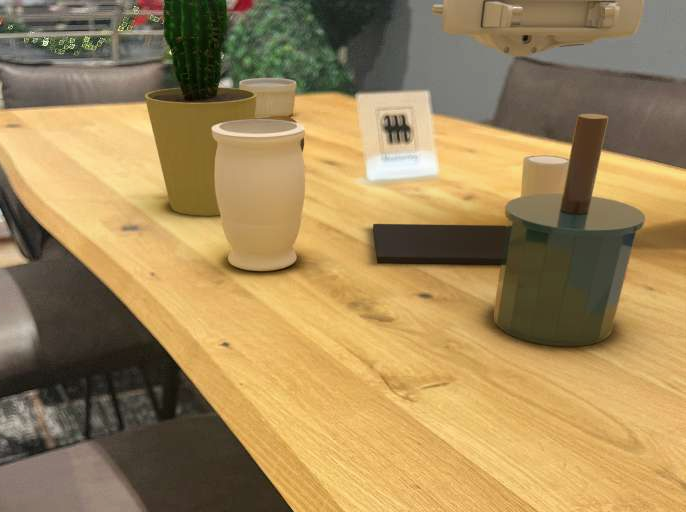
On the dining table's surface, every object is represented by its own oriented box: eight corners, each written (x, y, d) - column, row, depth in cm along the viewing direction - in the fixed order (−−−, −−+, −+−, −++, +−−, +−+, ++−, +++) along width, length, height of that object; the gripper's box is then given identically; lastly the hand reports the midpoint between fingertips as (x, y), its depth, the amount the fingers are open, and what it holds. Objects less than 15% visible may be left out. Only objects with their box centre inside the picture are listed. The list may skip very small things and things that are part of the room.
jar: (285, 280, 87) (283, 138, 79) (204, 269, 90) (194, 131, 82) (317, 253, 96) (318, 121, 87) (241, 243, 98) (236, 115, 90)
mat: (505, 231, 104) (506, 225, 103) (525, 265, 92) (526, 258, 92) (372, 229, 104) (373, 223, 104) (377, 263, 93) (377, 256, 92)
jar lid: (618, 206, 77) (642, 105, 72) (661, 245, 67) (693, 130, 61) (493, 205, 77) (507, 104, 72) (517, 243, 67) (536, 128, 62)
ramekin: (275, 122, 171) (274, 87, 167) (228, 116, 177) (226, 82, 173) (307, 114, 180) (307, 80, 176) (262, 108, 186) (261, 76, 182)
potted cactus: (203, 226, 105) (183, -42, 87) (135, 205, 113) (104, -43, 96) (282, 205, 114) (278, -41, 96) (213, 187, 122) (198, -42, 105)
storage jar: (593, 303, 82) (616, 202, 76) (626, 347, 73) (655, 236, 67) (485, 301, 83) (500, 200, 76) (504, 345, 73) (523, 234, 67)
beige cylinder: (561, 218, 109) (571, 166, 105) (512, 214, 111) (521, 162, 107) (564, 206, 114) (574, 156, 110) (518, 202, 116) (526, 152, 112)
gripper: (431, -27, 81) (459, -24, 70) (617, -25, 82) (675, -22, 71) (425, 41, 85) (451, 55, 74) (604, 42, 86) (656, 56, 75)
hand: (563, 17), depth 73 cm, fingers open, 8 cm apart
